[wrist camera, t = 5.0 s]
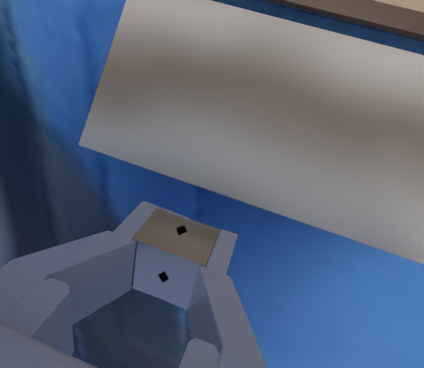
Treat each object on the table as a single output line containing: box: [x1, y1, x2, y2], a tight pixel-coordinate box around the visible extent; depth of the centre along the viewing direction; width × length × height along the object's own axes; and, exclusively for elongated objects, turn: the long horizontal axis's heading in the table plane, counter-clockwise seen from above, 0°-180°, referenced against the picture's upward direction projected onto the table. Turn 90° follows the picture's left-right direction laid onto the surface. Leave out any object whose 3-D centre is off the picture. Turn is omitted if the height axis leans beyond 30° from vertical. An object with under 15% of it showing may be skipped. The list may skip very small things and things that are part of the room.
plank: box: [79, 0, 424, 264], centre depth 12 cm, size 7×20×2 cm, turn 77°
